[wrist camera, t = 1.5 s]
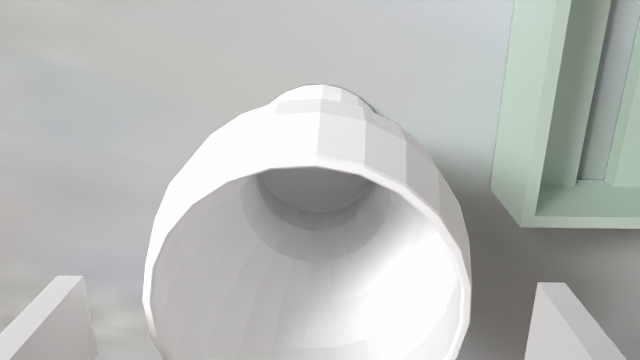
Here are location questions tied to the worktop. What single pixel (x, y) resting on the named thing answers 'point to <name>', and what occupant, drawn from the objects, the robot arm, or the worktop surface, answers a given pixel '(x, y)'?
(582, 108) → the dish rack
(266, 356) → the cup
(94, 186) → the worktop surface
